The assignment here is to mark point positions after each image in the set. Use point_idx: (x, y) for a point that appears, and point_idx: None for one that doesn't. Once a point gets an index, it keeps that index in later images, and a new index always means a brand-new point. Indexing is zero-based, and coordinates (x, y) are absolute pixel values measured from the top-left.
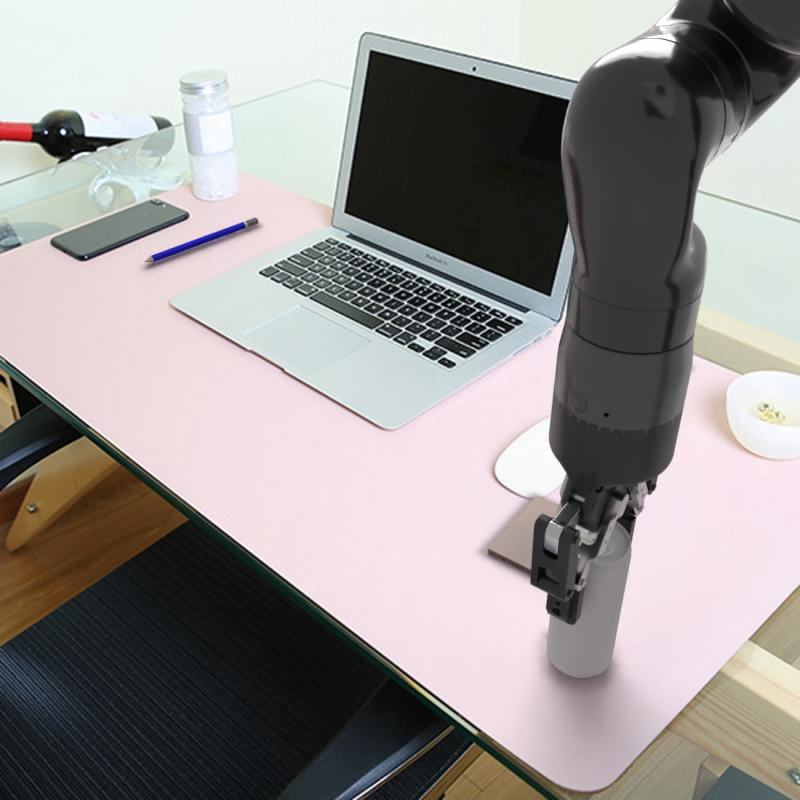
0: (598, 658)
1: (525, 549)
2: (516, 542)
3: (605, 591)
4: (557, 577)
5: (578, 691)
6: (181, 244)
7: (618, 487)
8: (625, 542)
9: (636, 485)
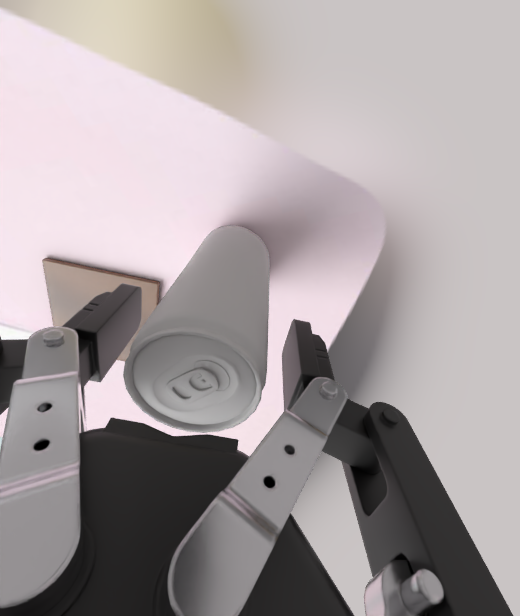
0: (257, 246)
1: (133, 339)
2: (130, 348)
3: (255, 312)
4: (373, 453)
5: (278, 246)
6: None
7: (144, 605)
8: (168, 338)
9: (74, 555)
